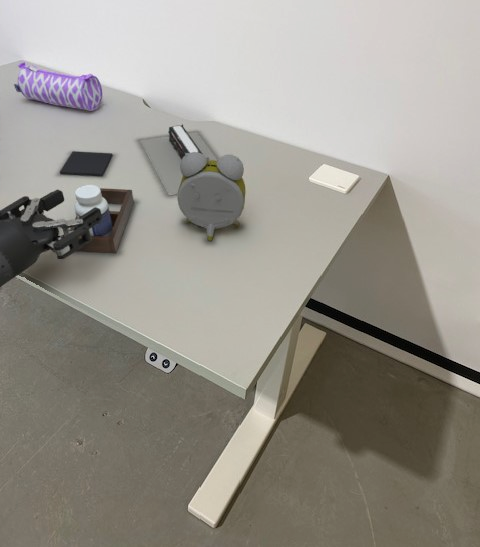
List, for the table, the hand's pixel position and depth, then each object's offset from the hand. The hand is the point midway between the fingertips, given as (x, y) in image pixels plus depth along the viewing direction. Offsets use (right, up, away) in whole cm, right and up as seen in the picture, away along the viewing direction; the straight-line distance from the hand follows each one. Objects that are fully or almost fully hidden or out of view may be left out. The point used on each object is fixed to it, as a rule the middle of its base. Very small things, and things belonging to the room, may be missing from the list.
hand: (80, 203), depth 68 cm
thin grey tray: (+13, +14, +28) cm, 34 cm away
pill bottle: (+1, -5, +7) cm, 9 cm away
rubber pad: (-8, +13, +25) cm, 29 cm away
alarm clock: (+21, -4, +10) cm, 23 cm away
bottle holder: (+1, -2, +10) cm, 10 cm away
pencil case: (-22, +35, +47) cm, 62 cm away
